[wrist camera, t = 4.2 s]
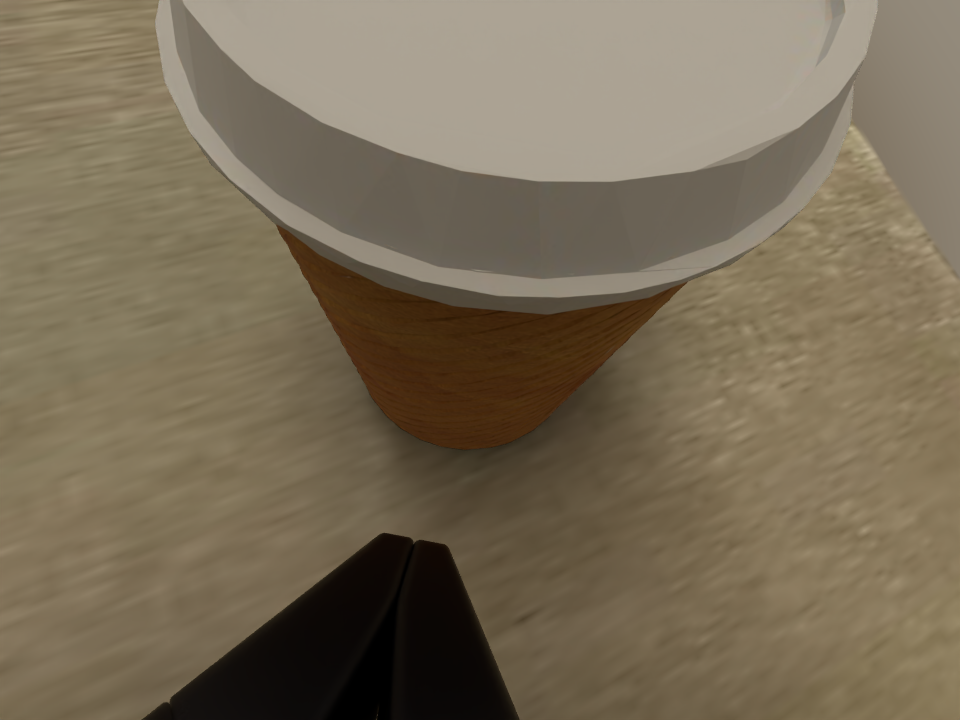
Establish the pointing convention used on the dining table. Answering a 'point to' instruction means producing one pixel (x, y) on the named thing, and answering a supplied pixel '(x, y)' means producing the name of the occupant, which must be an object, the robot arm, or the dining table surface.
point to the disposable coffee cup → (511, 170)
